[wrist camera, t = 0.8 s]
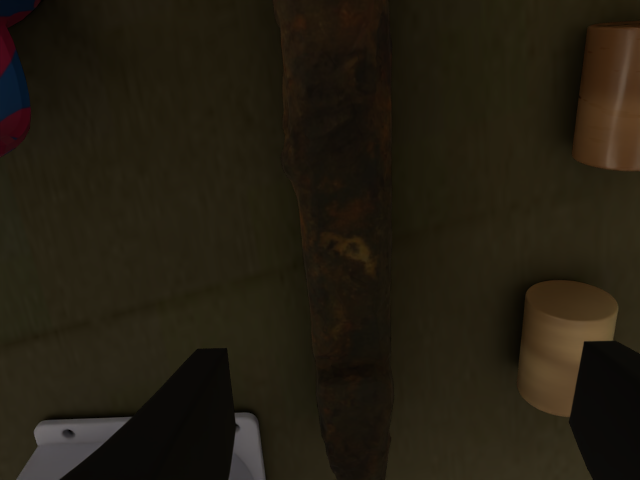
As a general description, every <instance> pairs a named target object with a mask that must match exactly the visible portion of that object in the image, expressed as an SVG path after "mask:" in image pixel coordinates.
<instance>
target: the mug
mask: <svg viewBox="0 0 640 480" xmlns="http://www.w3.org/2000/svg"><path fill="white" fill-rule="evenodd" d="M40 2H41V0H0V157H2V156H4V155H5V154H7V153H9V152H10V151H12V150H13V149H15V148H16V147H17V146H18V145H19V144H20V143H21V142H22V141H23V140H24V139H25V137H26V135H27V133H28V131H29V129H30V121H31V107H30V98H29V93H28V88H27V83H26V79H25V75H24V72H23V69H22V66H21V63H20V60H19V57H18V54H17V51H16V48H15V45H14V42H13V39H12V37H11V35H10V33H9V31H8V29H7V28H9V27H10V26H12V25H14V24H16V23H18V22H19V21H21V20H23V19H24V18H25V17H26V16H27V15H28V14H30V13H31V12H32V11H33V10H34V9H35V8H36V7H37V6H38V4H39V3H40Z"/></svg>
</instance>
